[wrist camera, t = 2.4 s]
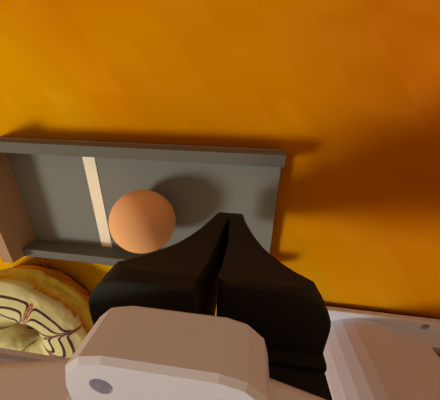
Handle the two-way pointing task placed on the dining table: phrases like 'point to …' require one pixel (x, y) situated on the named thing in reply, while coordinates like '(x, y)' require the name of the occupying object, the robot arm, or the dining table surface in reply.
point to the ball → (142, 221)
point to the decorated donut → (42, 311)
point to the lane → (124, 192)
